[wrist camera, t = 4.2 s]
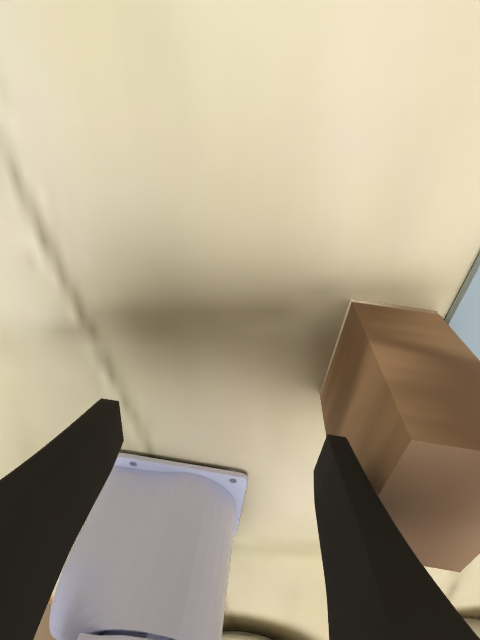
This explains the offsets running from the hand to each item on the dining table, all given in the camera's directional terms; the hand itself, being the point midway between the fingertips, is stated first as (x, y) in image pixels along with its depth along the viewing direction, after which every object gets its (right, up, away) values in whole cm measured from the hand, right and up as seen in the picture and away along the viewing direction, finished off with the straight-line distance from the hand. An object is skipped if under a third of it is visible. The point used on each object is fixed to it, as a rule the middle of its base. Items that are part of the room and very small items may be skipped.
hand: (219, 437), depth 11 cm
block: (+8, +2, +5) cm, 9 cm away
